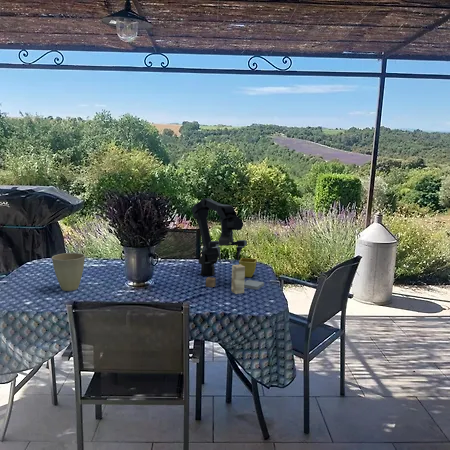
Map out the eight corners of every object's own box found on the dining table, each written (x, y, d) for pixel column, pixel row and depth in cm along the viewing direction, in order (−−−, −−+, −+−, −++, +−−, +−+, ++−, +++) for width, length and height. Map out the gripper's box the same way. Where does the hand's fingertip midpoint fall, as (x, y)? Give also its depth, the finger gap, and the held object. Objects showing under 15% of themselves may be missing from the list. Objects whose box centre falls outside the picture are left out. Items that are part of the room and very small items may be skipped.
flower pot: (254, 278, 242) (254, 262, 240) (238, 277, 244) (238, 261, 242) (256, 274, 250) (257, 258, 249) (240, 273, 252) (241, 257, 251)
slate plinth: (240, 286, 226) (240, 284, 226) (247, 282, 234) (248, 279, 234) (257, 289, 222) (257, 286, 222) (264, 285, 230) (264, 282, 230)
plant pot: (70, 282, 226) (69, 251, 224) (92, 287, 219) (91, 255, 217) (45, 290, 213) (44, 257, 211) (68, 295, 206) (67, 261, 204)
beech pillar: (231, 291, 219) (232, 265, 217) (239, 290, 221) (240, 264, 219) (235, 294, 215) (236, 267, 213) (244, 292, 217) (244, 266, 215)
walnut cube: (205, 287, 225) (205, 279, 225) (207, 284, 229) (207, 277, 229) (213, 287, 224) (213, 279, 224) (215, 285, 228) (215, 277, 228)
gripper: (204, 231, 224) (206, 263, 225) (241, 230, 219) (242, 262, 220) (211, 230, 235) (213, 260, 236) (246, 228, 230) (247, 259, 231)
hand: (228, 260), depth 230 cm, fingers open, 9 cm apart
